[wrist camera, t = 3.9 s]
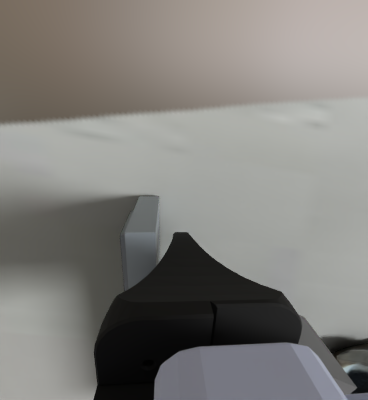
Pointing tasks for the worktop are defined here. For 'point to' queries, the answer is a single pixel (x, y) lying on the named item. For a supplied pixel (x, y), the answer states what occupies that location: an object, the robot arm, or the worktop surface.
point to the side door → (140, 241)
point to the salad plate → (355, 365)
